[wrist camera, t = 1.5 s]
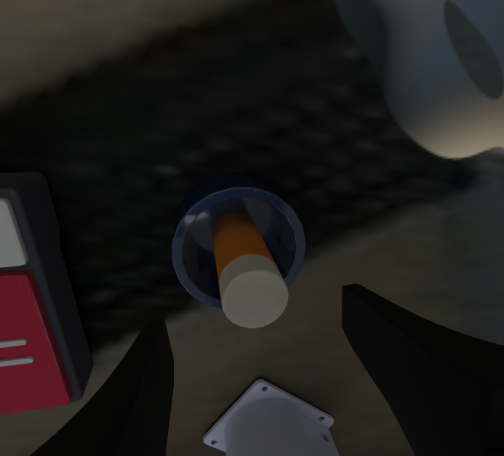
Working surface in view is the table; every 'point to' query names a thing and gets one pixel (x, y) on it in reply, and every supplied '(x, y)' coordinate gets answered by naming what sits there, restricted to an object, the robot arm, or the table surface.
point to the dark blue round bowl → (217, 203)
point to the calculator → (36, 303)
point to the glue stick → (246, 272)
